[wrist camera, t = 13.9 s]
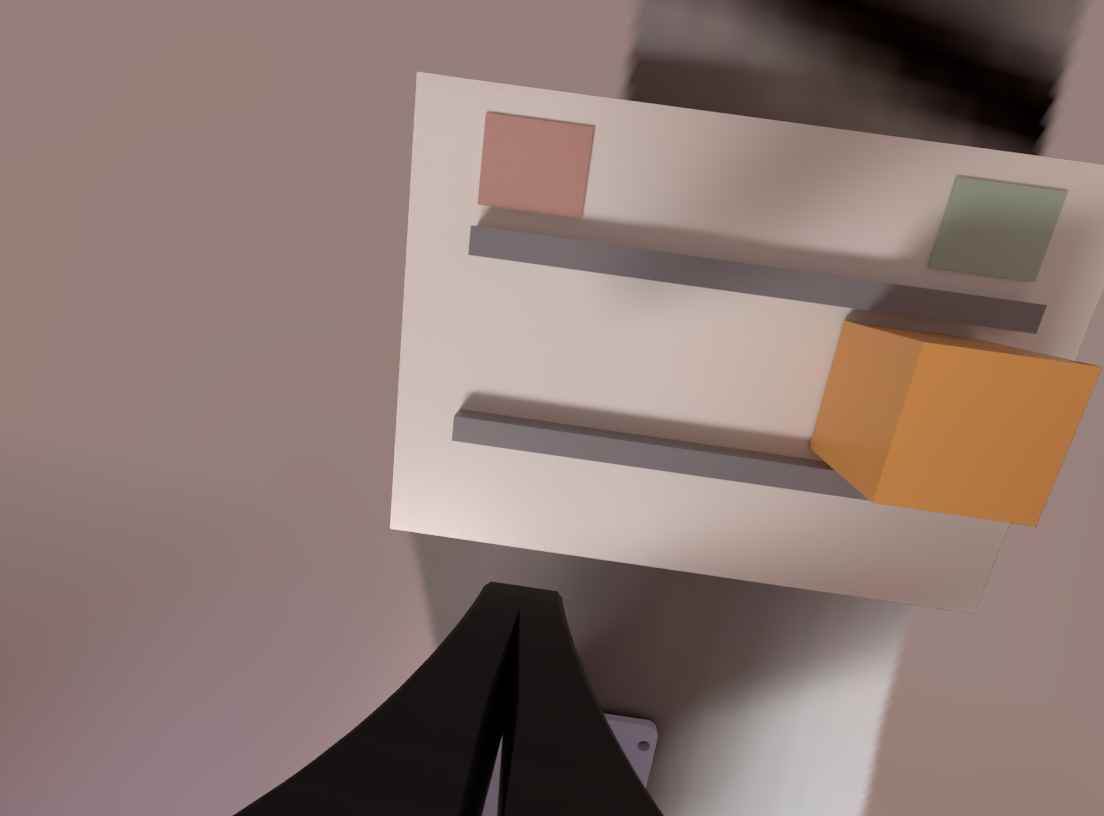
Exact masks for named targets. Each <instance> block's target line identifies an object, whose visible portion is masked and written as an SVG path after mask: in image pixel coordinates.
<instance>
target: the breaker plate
mask: <svg viewBox="0 0 1104 816" xmlns="http://www.w3.org/2000/svg"><path fill="white" fill-rule="evenodd" d="M416 83H417V84H416V99H415V100H416V101H415V116H414V117H415V118H414V134H413V150H412V167H411V184H410V201H409V218H408V235H407V252H406V268H405V285H404V302H403V303H404V304H403V321H402V336H401V353H400V371H399V387H398V405H397V421H396V422H397V423H396V437H395V454H394V471H393V489H392V505H391V523H390V529H396V530H403V531H410V532H417V533H423V534H430V535H437V536H444V537H451V538H458V539H464V540H471V541H478V542H485V543H492V544H499V545H505V546H512V547H519V548H526V549H533V550H540V551H546V552H553V553H560V554H567V555H574V556H581V557H588V558H594V559H601V560H608V561H615V562H622V563H629V564H635V565H642V566H649V567H656V568H663V569H670V570H676V571H683V572H690V573H697V574H704V575H711V576H717V577H724V578H731V579H738V580H745V581H752V582H759V583H765V584H772V585H779V586H786V587H793V588H800V589H806V590H813V591H820V592H827V593H834V594H841V595H847V596H854V597H861V598H868V599H875V600H882V601H888V602H895V603H902V604H909V605H916V606H923V607H929V608H937V609H943V610H950V611H957V612H964V613H971V614H974V613H975V611H976V608H977V606H978V603H979V601H980V598H981V596H982V593H983V591H984V588H985V586H986V583H987V581H988V578H989V576H990V573H991V571H992V568H993V566H994V563H995V561H996V558H997V556H998V553H999V551H1000V548H1001V546H1002V543H1003V540H1004V538H1005V536H1006V533H1007V530H1008V528H1009V525H1010V523H1007V522H1000V521H993V520H986V519H980V518H973V517H966V516H959V515H952V514H945V513H938V512H931V511H924V510H917V509H910V508H903V507H896V506H889V505H882V504H875V503H872V502H871V501H869V500H868V499H867V498H866V497H865V496H864V495H863V494H861V493H860V492H859V491H858V490H857V489H856V488H855V487H853V486H852V485H851V484H850V483H849V482H848V481H847V480H845V479H844V478H843V477H842V476H841V475H840V474H839V473H837V472H836V471H835V470H834V469H833V468H832V467H831V466H829V465H828V464H827V463H826V462H825V461H824V460H822V459H821V458H820V457H819V456H818V455H817V454H816V453H814V452H813V451H812V450H811V449H810V448H809V446H810V442H811V438H812V435H813V431H814V428H815V424H816V420H817V417H818V413H819V410H820V406H821V402H822V399H823V395H824V392H825V388H826V384H827V381H828V377H829V373H830V370H831V366H832V363H833V359H834V355H835V352H836V348H837V345H838V341H839V337H840V334H841V330H842V327H843V323H844V321H851V322H858V323H865V324H873V325H880V326H887V327H894V328H901V329H908V330H916V331H923V332H930V333H937V334H944V335H951V336H959V337H966V338H973V339H980V340H985V341H989V342H993V343H998V344H1002V345H1007V346H1011V347H1016V348H1020V349H1025V350H1029V351H1033V352H1038V353H1042V354H1047V355H1051V356H1056V357H1060V358H1064V359H1069V360H1073V361H1075V360H1076V357H1077V355H1078V352H1079V350H1080V347H1081V345H1082V342H1083V340H1084V337H1085V335H1086V332H1087V330H1088V327H1089V325H1090V322H1091V320H1092V317H1093V315H1094V312H1095V310H1096V307H1097V305H1098V302H1099V300H1100V297H1101V295H1102V292H1103V290H1104V165H1102V164H1095V163H1088V162H1080V161H1073V160H1066V159H1058V158H1051V157H1044V156H1036V155H1029V154H1021V153H1014V152H1007V151H999V150H992V149H984V148H977V147H970V146H962V145H955V144H947V143H940V142H933V141H925V140H918V139H910V138H903V137H896V136H888V135H881V134H873V133H866V132H859V131H851V130H844V129H836V128H829V127H822V126H814V125H807V124H799V123H792V122H785V121H777V120H770V119H762V118H755V117H748V116H740V115H733V114H725V113H718V112H711V111H703V110H696V109H688V108H681V107H674V106H666V105H659V104H651V103H644V102H637V101H629V100H622V99H614V98H606V97H600V96H592V95H585V94H577V93H569V92H562V91H555V90H548V89H540V88H533V87H526V86H518V85H511V84H503V83H496V82H489V81H481V80H474V79H466V78H459V77H452V76H444V75H436V74H429V73H422V72H417V82H416Z"/></svg>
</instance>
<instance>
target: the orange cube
mask: <svg viewBox="0 0 1104 816" xmlns="http://www.w3.org/2000/svg"><path fill="white" fill-rule="evenodd" d="M1101 369H1102V367H1100V366H1095V365H1091V364H1087V363H1082V362H1077V361H1073V360H1069V359H1064V358H1060V357H1056V356H1051V355H1047V354H1042V353H1038V352H1033V351H1029V350H1025V349H1020V348H1016V347H1011V346H1007V345H1002V344H998V343H993V342H989V341H985V340H980V339H973V338H966V337H959V336H951V335H944V334H937V333H930V332H923V331H916V330H908V329H901V328H894V327H887V326H880V325H873V324H865V323H858V322H851V321H844V323H843V327H842V330H841V334H840V337H839V341H838V345H837V348H836V352H835V355H834V359H833V363H832V366H831V370H830V373H829V377H828V381H827V384H826V388H825V392H824V395H823V399H822V402H821V406H820V410H819V413H818V417H817V420H816V424H815V428H814V431H813V435H812V438H811V442H810V446H809V448H810V449H811V450H812V451H813V452H814V453H816V454H817V455H818V456H819V457H820V458H821V459H822V460H824V461H825V462H826V463H827V464H828V465H829V466H831V467H832V468H833V469H834V470H835V471H836V472H837V473H839V474H840V475H841V476H842V477H843V478H844V479H845V480H847V481H848V482H849V483H850V484H851V485H852V486H853V487H855V488H856V489H857V490H858V491H859V492H860V493H861V494H863V495H864V496H865V497H866V498H867V499H868V500H869V501H871V502H872V503H875V504H882V505H889V506H896V507H903V508H910V509H917V510H924V511H931V512H938V513H945V514H952V515H959V516H966V517H973V518H980V519H986V520H993V521H1000V522H1007V523H1014V524H1022V525H1028V526H1035V527H1036V526H1037V523H1038V521H1039V519H1040V516H1041V514H1042V511H1043V509H1044V507H1045V504H1046V502H1047V499H1048V497H1049V494H1050V492H1051V489H1052V487H1053V485H1054V482H1055V480H1056V477H1057V475H1058V473H1059V470H1060V468H1061V465H1062V463H1063V461H1064V458H1065V456H1066V453H1067V451H1068V448H1069V446H1070V444H1071V441H1072V439H1073V436H1074V434H1075V432H1076V429H1077V427H1078V424H1079V422H1080V420H1081V417H1082V415H1083V412H1084V410H1085V407H1086V405H1087V403H1088V400H1089V398H1090V395H1091V393H1092V390H1093V388H1094V385H1095V383H1096V381H1097V378H1098V376H1099V373H1100V371H1101Z"/></svg>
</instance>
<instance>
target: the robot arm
mask: <svg viewBox="0 0 1104 816" xmlns="http://www.w3.org/2000/svg"><path fill="white" fill-rule="evenodd" d="M657 739H658V732H657V727H656V725H655V724H654V723H653V722H652V721H649V720H644V719H638V718H631V717H624V716H618V715H611V714H604V713H603V711H602V709H601V707H600V705H599V703H598V701H597V699H596V697H595V694H594V692H593V690H592V688H591V685H590V683H589V681H588V678H587V676H586V673H585V671H584V668H583V666H582V663H581V661H580V658H579V656H578V653H577V651H576V648H575V645H574V642H573V639H572V636H571V633H570V630H569V627H568V623H567V620H566V616H565V612H564V607H563V601H562V597H561V596H560V594H559V593H558V592H557V591H551V590H544V589H537V588H531V587H524V586H517V585H510V584H503V583H497V582H490V583H488V584H487V585H485V586H484V587H483V589H482V591H481V592H480V594H479V596H478V597H477V599H476V600H475V602H474V603H473V605H472V606H471V607H470V609H469V610H468V611H467V613H466V614H465V615H464V617H463V618H462V619H461V620H460V622H459V623H458V624H457V626H456V627H455V628H454V629H453V630H452V632H451V633H450V634H449V635H448V636H447V637H446V639H445V640H444V641H443V642H442V643H441V644H440V646H439V647H438V648H437V649H436V650H435V651H434V653H433V654H432V655H431V656H430V657H429V658H428V659H427V660H426V661H425V662H424V663H423V664H422V665H421V666H420V667H419V668H418V669H417V670H416V671H415V672H414V674H413V675H412V676H411V677H410V678H409V679H408V680H407V681H406V682H405V683H404V684H403V685H402V686H401V687H400V688H399V689H398V690H397V691H396V692H395V693H394V694H392V695H391V696H390V697H389V698H388V699H387V700H386V701H385V702H384V703H383V704H382V705H381V706H379V707H378V708H377V709H376V710H375V711H374V712H373V713H372V714H370V715H369V716H368V717H367V718H366V719H365V720H364V721H362V722H361V723H360V724H359V725H358V726H357V727H355V728H354V729H353V730H352V731H351V732H349V733H348V734H347V735H346V736H344V737H343V738H342V739H340V740H339V741H338V742H337V743H335V744H334V745H333V746H331V747H330V748H329V749H328V750H327V751H325V752H324V753H323V754H321V755H320V756H319V757H318V758H316V759H315V760H314V761H312V762H311V763H310V764H308V765H307V766H306V767H304V768H303V769H301V770H300V771H299V772H297V773H296V774H295V775H293V776H292V777H290V778H289V779H287V780H286V781H285V782H283V783H282V784H280V785H279V786H277V787H276V788H274V789H272V790H271V791H269V792H268V793H266V794H265V795H263V796H262V797H260V798H259V799H257V800H256V801H254V802H253V803H251V804H250V805H248V806H247V807H245V808H244V809H242V810H241V811H239V812H238V813H236V814H235V815H233V816H663V814H662V813H661V811H660V810H659V808H658V807H657V805H656V804H655V802H654V800H653V799H652V797H651V796H650V794H649V793H648V791H647V790H646V786H647V782H648V777H649V773H650V769H651V764H652V760H653V756H654V752H655V747H656V743H657ZM641 741H646V743H639V742H641Z"/></svg>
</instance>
